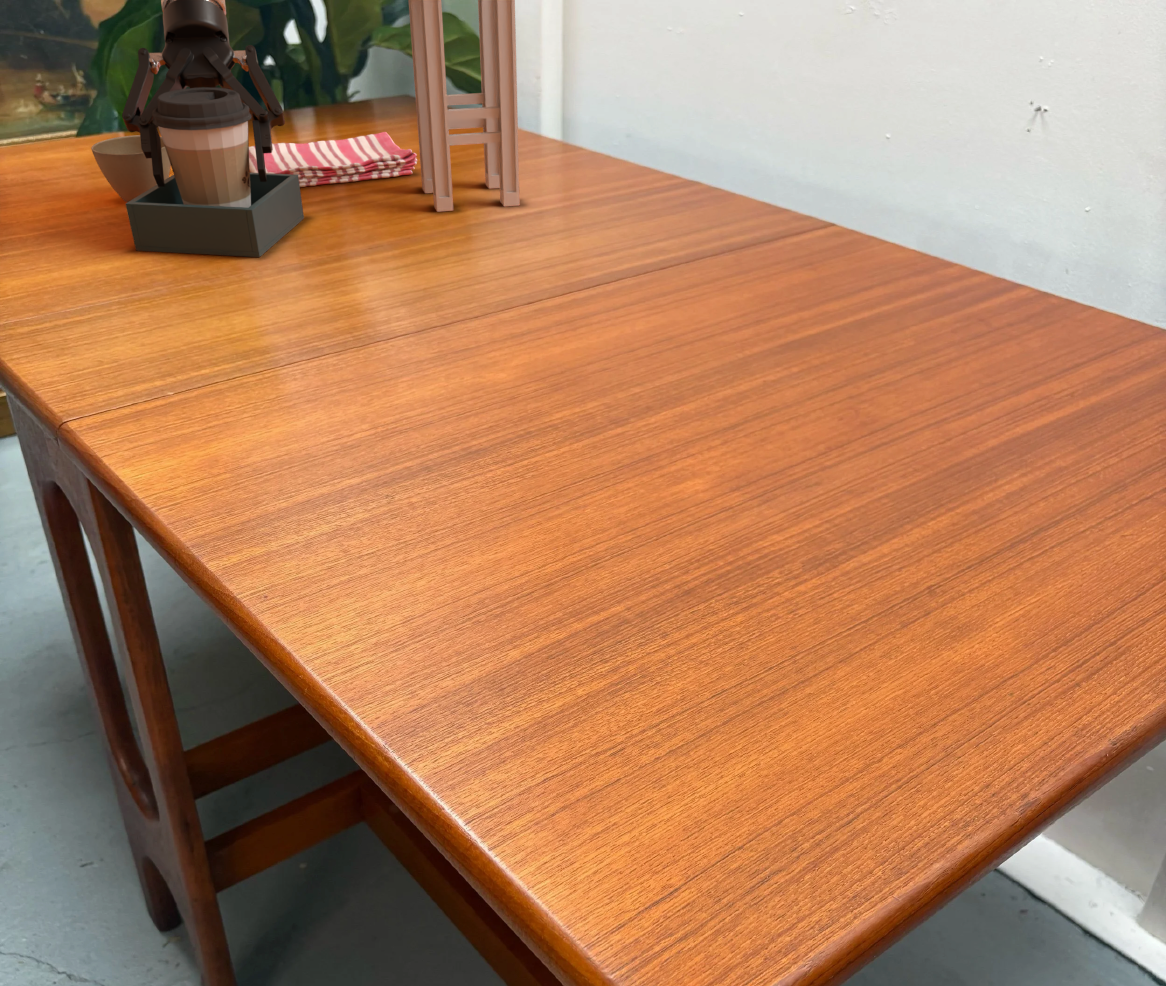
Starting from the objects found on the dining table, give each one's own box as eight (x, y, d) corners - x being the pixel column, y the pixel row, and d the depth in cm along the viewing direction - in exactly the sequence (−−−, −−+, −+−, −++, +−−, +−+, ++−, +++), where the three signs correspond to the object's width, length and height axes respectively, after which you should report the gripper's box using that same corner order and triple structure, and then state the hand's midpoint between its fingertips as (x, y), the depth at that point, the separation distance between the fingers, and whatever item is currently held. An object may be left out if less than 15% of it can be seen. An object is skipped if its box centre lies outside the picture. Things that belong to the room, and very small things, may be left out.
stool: (538, 208, 148) (534, -96, 128) (424, 217, 144) (402, -95, 124) (510, 178, 160) (502, -104, 140) (405, 186, 157) (381, -103, 137)
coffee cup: (273, 232, 135) (253, 101, 126) (177, 242, 131) (149, 108, 123) (262, 206, 143) (242, 82, 135) (171, 215, 140) (145, 88, 132)
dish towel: (421, 174, 162) (419, 149, 160) (262, 192, 153) (258, 166, 151) (386, 148, 174) (384, 125, 172) (238, 163, 166) (233, 139, 164)
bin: (135, 250, 133) (125, 203, 129) (190, 213, 145) (182, 169, 142) (259, 257, 131) (252, 209, 128) (304, 218, 144) (298, 174, 140)
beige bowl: (113, 189, 154) (101, 135, 150) (187, 187, 155) (176, 134, 151) (95, 210, 146) (82, 154, 142) (173, 208, 147) (161, 152, 143)
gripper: (296, 33, 141) (314, 189, 137) (101, 38, 137) (115, 199, 133) (289, -9, 134) (308, 156, 130) (84, -4, 129) (98, 165, 126)
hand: (211, 178), depth 132 cm, fingers closed on coffee cup, 11 cm apart
